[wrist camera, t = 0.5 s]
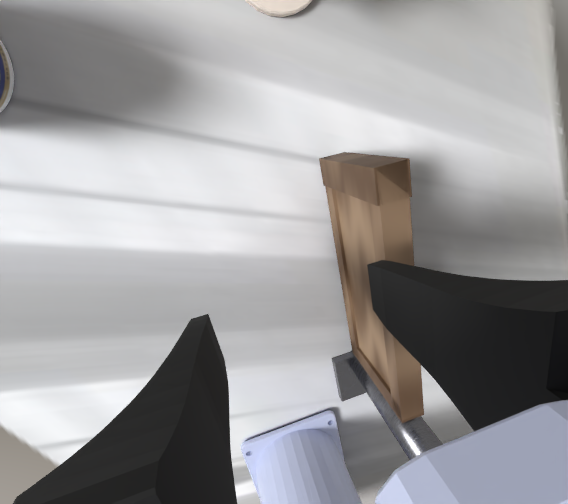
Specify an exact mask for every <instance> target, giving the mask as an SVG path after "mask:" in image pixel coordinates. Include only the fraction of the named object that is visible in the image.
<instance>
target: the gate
mask: <svg viewBox="0 0 568 504" xmlns="http://www.w3.org/2000/svg"><path fill="white" fill-rule="evenodd" d="M319 160H320V166H321V172H322V178H323V184H324V186H326V193H327V199H328V205H329V211H330V217H331V223H332V229H333V235H334V241H335V247H336V253H337V259H338V266H339V272H340V278H341V284H342V290H343V296H344V302H345V308H346V314H347V320H348V326H349V332H350V339H351V345H352V351H353V354H354V355H355V356H356V358H357V359H358V361H359V362H360V364H361V365H362V366H363V368H364V369H365V371H366V372H367V374H368V375H369V376H370V378H371V379H372V381H373V382H374V384H375V385H376V387H377V388H378V389H379V391H380V392H381V394H382V395H383V397H384V398H385V399H386V401H387V402H388V404H389V405H390V407H391V408H392V409H393V411H394V412H395V414H396V415H397V417H398V418H399V419H400V421H401V422H402V423H404V422H407V421H409V420H412V419H414V418H417V417H419V416H422V415H424V409H423V394H422V378H421V364H420V363H419V362H418V361H417V360H416V359H415V358H414V357H413V356H412V355H411V354H410V353H409V352H408V351H407V350H406V349H405V348H404V347H403V346H402V345H401V344H400V343H399V341H398V340H397V339H396V338H395V337H394V336H393V335H392V334H391V333H390V332H389V331H388V330H387V329H386V327H385V326H384V325H383V323H382V322H381V321H380V319H379V318H378V316H377V315H376V313H375V312H374V311H373V307H372V299H371V291H370V283H369V275H368V268H367V264H371V263H374V262H377V261H380V260H386V261H393V262H398V263H402V264H407V265H411V266H414V256H413V240H412V225H411V210H410V197H412V192H411V176H410V160H409V159H408V158H397V157H387V156H377V155H366V154H356V153H346V152H344V153H340V154H336V155H332V156H328V157H324V158H320V159H319Z"/></svg>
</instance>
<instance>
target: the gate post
mask: <svg viewBox="0 0 568 504" xmlns="http://www.w3.org/2000/svg"><path fill="white" fill-rule="evenodd" d="M332 362H333V367H334V372H335V377H336V382H337V387H338V392H339V397H340V398H341V400H342V401H345V400H347V399H350V398H353V397H356V396H358V395H361V394H364V393H366V392H367V394H368V395H369V397H370V399H371V400H372V402H373V403H374V405H375V406H376V408H377V409H378V411H379V413H380V414H381V416H382V417H383V419H384V420H385V422H386V423H387V425H388V427H389V428H390V430H391V431H392V433H393V434H394V436H395V437H396V439H397V441H398V442H399V444H400V445H401V447H402V448H403V450H404V451H405V453H406V455H407V456H408V458H409V459H410V460H411V459H413V458H415V457H416V456H418V455H419V454H421V453H423V452H426V451H428V450H431V449H433V448H435V447H438V446H440V445H443V444H442V443H441V442H440V440H439V439H438V438H437V436H436V435H435V434H434V433H433V431H432V430H431V429H430V428H429V426H428V425H427V424H426V422H425V421H424V420H423V419H422V417H421V416H419V417H417V418H414V419H412V420H409V421H407V422H404V423H402V422H401V421H400V419H399V418H398V417H397V415H396V414H395V412H394V411H393V409H392V408H391V407H390V405H389V404H388V402H387V401H386V399H385V398H384V397H383V395H382V394H381V392H380V391H379V389H378V388H377V387H376V385H375V384H374V382H373V381H372V379H371V378H370V376H369V375H368V374H367V372H366V371H365V369H364V368H363V366H362V365H361V364H360V362H359V361H358V359H357V358H356V356H355V355H354V354H353V351H351V352H349V353H346V354H343V355H340V356H338V357H335V358H332Z"/></svg>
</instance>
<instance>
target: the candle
mask: <svg viewBox="0 0 568 504" xmlns="http://www.w3.org/2000/svg"><path fill="white" fill-rule="evenodd" d="M245 1H246V2H247V3H248V4H250V5H251V6H252V7H254V8H255V9H256V10H257V11H260V12H262V13H265V14H267V15H269V16H277V17H285V16H289V15H294V14H296V13H298V12H299V11H301V10H303V9H304V8H306V7H307V6H308V5H309V4H310V2H311V1H312V0H245Z"/></svg>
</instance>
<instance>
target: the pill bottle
mask: <svg viewBox="0 0 568 504" xmlns="http://www.w3.org/2000/svg"><path fill="white" fill-rule="evenodd" d="M13 88H14V72H13V67H12V63H11V60H10V57H9V55H8V52H7V50H6V48H5V46H4V44H3V43H2V41H1V40H0V113H1V112H2V111H3V109H4V108H5V107H6V106H7V104H8V103H9V101H10V98H11V96H12V93H13Z"/></svg>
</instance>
